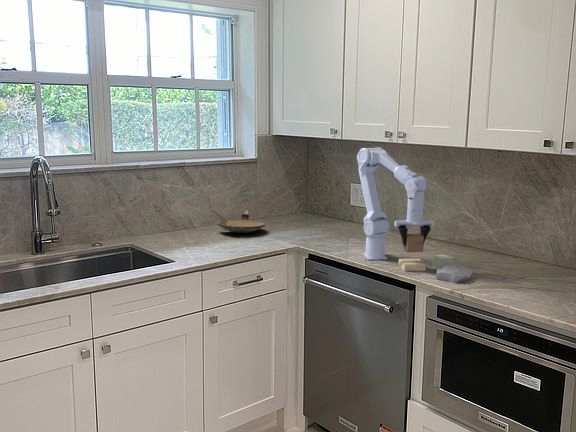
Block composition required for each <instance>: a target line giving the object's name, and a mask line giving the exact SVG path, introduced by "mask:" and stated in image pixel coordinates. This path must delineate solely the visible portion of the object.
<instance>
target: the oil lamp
mask: <svg viewBox="0 0 576 432" xmlns="http://www.w3.org/2000/svg"><path fill="white" fill-rule="evenodd" d="M249 216H250V214H249V210H245V211H244V213H241V219H235V220H234V219H230V220H229V219H227V220H225V221H224V222H223V224H221V223H219V222H217V226H219V227H220V228H222V229H224V230H225V231H228V232H231V233H235V234H250V233H254V232H256V231H258V230H261V229H262V228H264V227H266V223H264V222H261V221H257V220H249Z"/></svg>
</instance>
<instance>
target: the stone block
mask: <svg viewBox="0 0 576 432" xmlns="http://www.w3.org/2000/svg"><path fill="white" fill-rule="evenodd" d="M472 274H473V272H472V270H471V269H470V268H468V267H466V266H463V265H462V264H456V263H452V264H447V265H445V266H444V267H443V268H442V269H438V270H436V275H435V278H436V280H438V281H442V282H449V283H453V284H456V283H461V282H465V281H468V280H469V281H470V280H471V277H472V276H473V275H472Z"/></svg>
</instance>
